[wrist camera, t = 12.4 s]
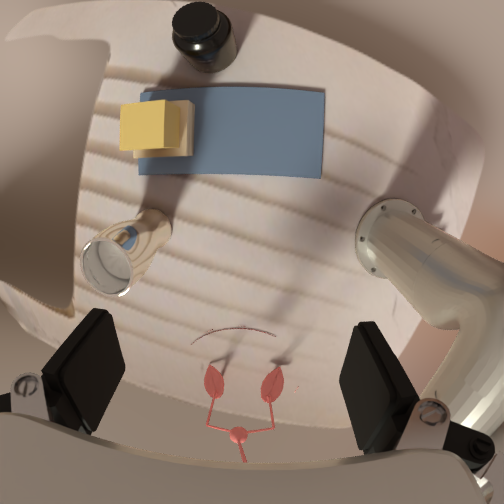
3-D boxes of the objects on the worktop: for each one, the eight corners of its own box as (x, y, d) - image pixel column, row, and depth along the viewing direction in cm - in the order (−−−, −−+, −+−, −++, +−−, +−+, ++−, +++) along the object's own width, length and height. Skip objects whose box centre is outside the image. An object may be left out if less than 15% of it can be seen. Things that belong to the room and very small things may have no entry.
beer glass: (127, 209, 39) (70, 240, 25) (170, 202, 39) (125, 231, 24) (137, 253, 41) (89, 300, 27) (178, 248, 41) (142, 297, 27)
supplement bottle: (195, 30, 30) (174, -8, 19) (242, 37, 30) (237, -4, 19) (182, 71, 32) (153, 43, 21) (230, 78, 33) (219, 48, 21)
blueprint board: (323, 94, 33) (324, 92, 32) (319, 178, 37) (320, 178, 36) (142, 93, 33) (140, 92, 32) (140, 174, 37) (138, 175, 36)
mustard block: (180, 107, 30) (165, 99, 24) (179, 147, 31) (163, 147, 26) (141, 111, 30) (121, 105, 24) (140, 149, 31) (119, 150, 26)
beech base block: (195, 104, 33) (188, 99, 29) (193, 155, 36) (186, 155, 32) (146, 108, 33) (134, 104, 29) (144, 157, 36) (133, 158, 32)
